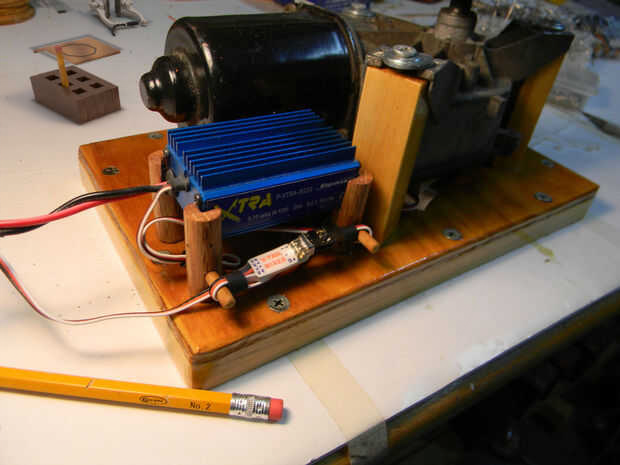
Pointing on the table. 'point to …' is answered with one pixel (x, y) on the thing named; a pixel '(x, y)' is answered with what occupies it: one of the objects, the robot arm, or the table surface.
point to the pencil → (61, 65)
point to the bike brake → (104, 9)
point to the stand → (76, 94)
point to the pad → (82, 50)
